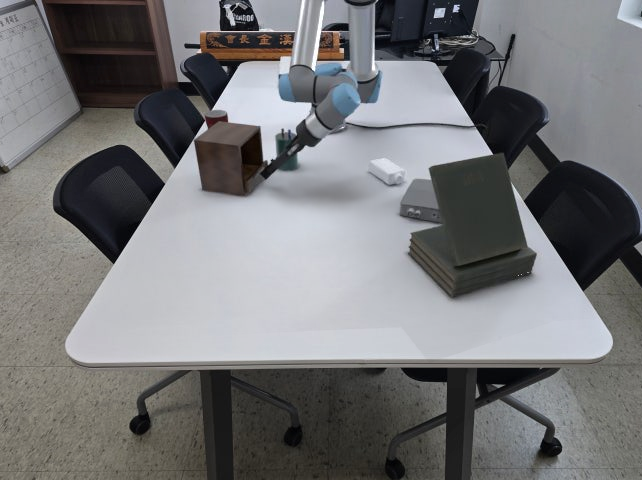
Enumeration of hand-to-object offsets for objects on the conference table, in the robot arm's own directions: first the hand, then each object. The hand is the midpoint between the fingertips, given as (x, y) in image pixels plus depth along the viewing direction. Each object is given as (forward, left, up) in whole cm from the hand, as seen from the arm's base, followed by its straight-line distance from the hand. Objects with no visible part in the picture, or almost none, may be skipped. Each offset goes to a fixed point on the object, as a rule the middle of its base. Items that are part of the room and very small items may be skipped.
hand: (263, 175), depth 152 cm
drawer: (+8, -3, -3) cm, 9 cm away
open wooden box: (+10, -4, -4) cm, 11 cm away
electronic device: (-52, +18, -4) cm, 55 cm away
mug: (+19, -37, -4) cm, 42 cm away
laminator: (-8, -119, -4) cm, 120 cm away
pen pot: (-7, -14, -4) cm, 16 cm away
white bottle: (-39, -4, -4) cm, 39 cm away
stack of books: (-52, +45, -4) cm, 69 cm away
